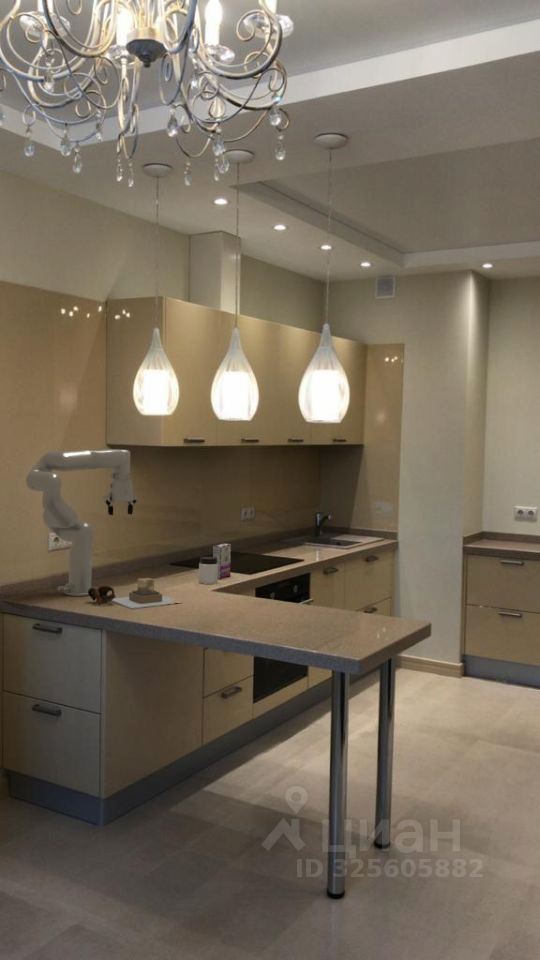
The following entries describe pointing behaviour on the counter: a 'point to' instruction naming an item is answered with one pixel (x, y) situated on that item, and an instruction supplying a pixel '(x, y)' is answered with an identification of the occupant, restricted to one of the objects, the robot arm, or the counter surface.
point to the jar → (208, 570)
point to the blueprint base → (137, 605)
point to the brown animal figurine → (101, 594)
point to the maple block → (145, 585)
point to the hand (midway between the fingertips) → (120, 514)
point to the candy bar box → (223, 559)
